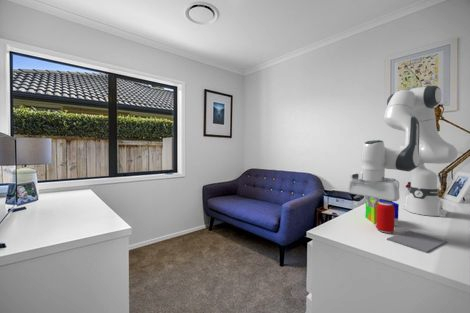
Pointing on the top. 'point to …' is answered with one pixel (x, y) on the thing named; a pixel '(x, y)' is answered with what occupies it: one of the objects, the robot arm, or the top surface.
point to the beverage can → (385, 217)
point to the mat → (417, 241)
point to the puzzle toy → (372, 212)
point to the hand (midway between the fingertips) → (371, 207)
